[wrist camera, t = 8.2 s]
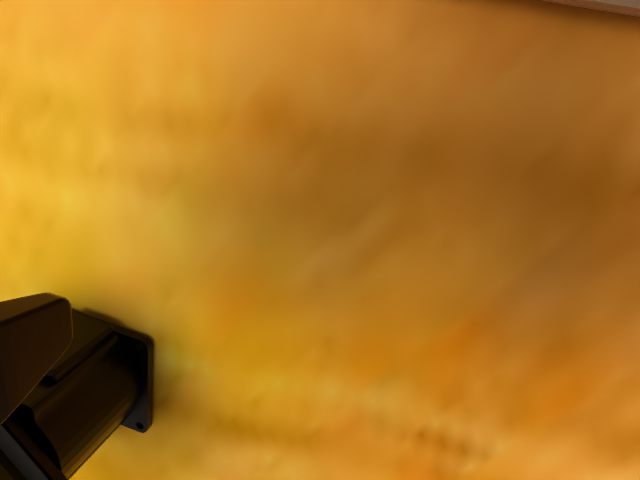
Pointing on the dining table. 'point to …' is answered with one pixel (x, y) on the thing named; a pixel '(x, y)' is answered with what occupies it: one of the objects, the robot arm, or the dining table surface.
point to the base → (605, 5)
